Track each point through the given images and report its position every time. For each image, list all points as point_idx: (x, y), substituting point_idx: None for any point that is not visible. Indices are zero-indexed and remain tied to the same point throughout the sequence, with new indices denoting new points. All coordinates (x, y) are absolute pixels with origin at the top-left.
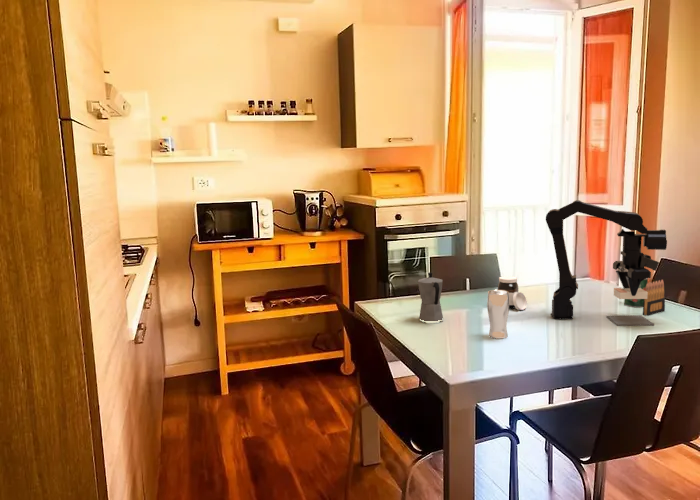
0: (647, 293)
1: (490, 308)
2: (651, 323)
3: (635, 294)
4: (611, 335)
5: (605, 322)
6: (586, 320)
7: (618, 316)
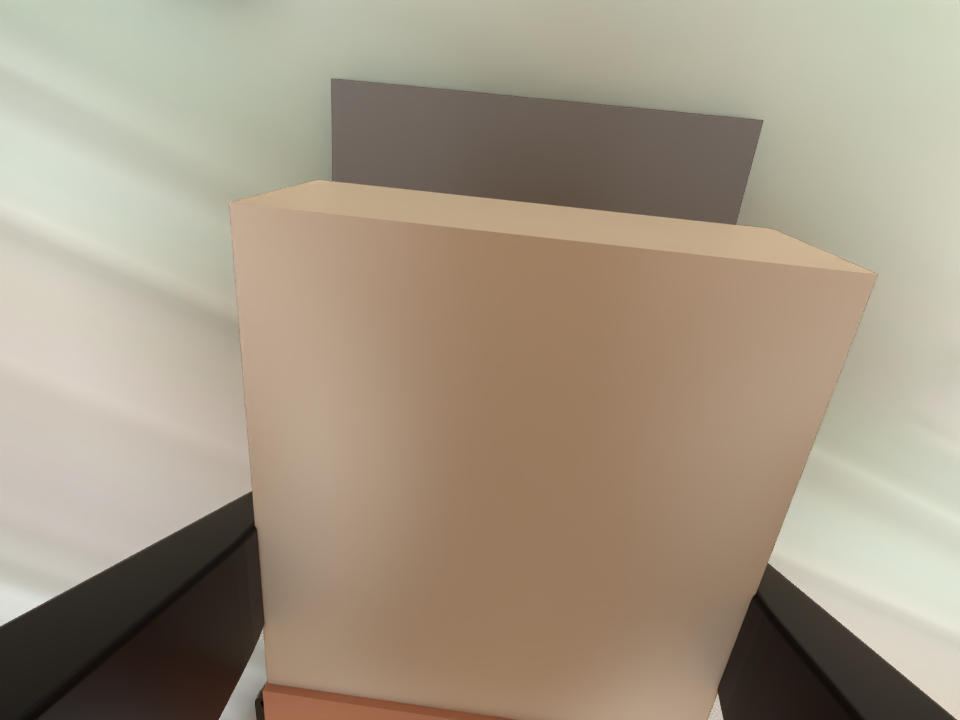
0: (843, 261)
1: None
2: (739, 149)
3: (766, 571)
4: (917, 654)
5: None
6: None
7: None
